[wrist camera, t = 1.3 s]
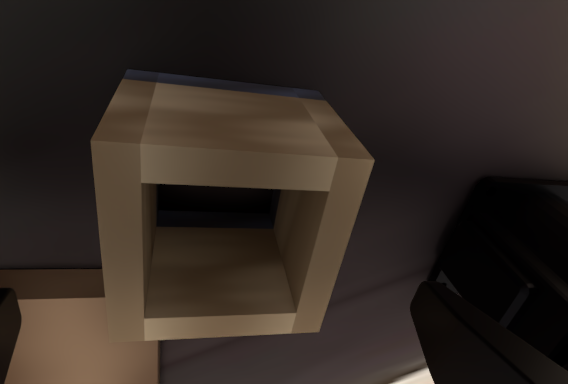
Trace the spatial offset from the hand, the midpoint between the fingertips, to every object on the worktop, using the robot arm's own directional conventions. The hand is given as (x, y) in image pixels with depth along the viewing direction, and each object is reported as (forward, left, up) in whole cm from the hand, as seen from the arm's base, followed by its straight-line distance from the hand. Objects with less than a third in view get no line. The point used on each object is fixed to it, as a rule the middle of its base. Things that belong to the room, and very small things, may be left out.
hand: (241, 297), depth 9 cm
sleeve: (0, 0, -6) cm, 6 cm away
